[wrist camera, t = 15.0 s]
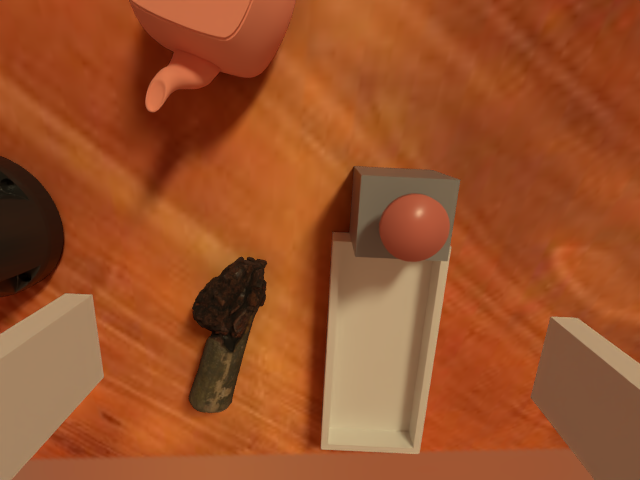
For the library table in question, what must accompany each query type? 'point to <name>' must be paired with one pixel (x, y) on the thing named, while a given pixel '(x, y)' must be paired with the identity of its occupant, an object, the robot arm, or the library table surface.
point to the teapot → (211, 40)
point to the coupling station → (386, 309)
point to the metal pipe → (226, 330)
